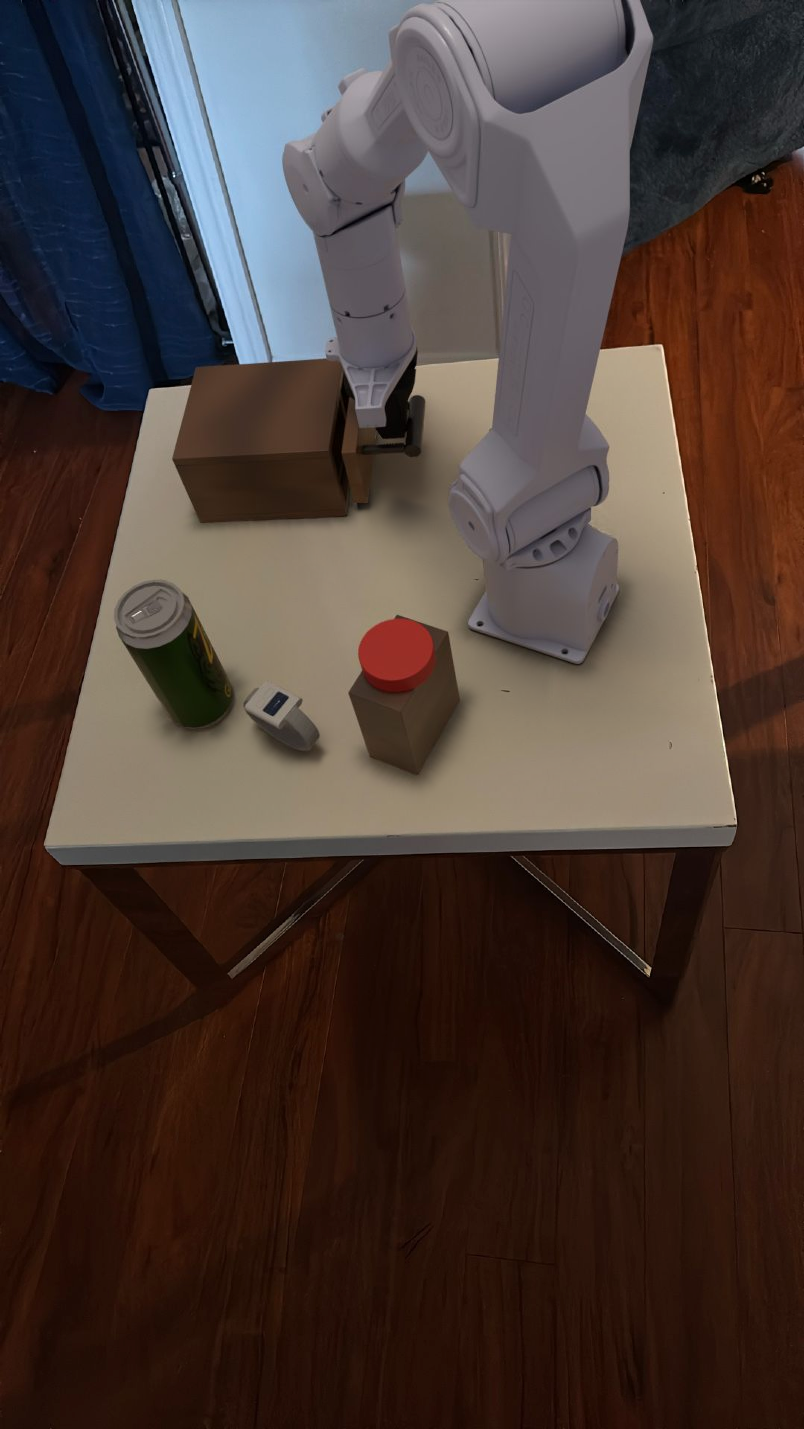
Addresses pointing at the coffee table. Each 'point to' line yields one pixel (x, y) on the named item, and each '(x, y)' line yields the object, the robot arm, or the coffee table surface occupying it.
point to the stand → (408, 710)
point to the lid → (397, 655)
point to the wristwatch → (281, 716)
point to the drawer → (371, 444)
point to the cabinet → (263, 441)
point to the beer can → (174, 653)
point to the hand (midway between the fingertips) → (393, 433)
